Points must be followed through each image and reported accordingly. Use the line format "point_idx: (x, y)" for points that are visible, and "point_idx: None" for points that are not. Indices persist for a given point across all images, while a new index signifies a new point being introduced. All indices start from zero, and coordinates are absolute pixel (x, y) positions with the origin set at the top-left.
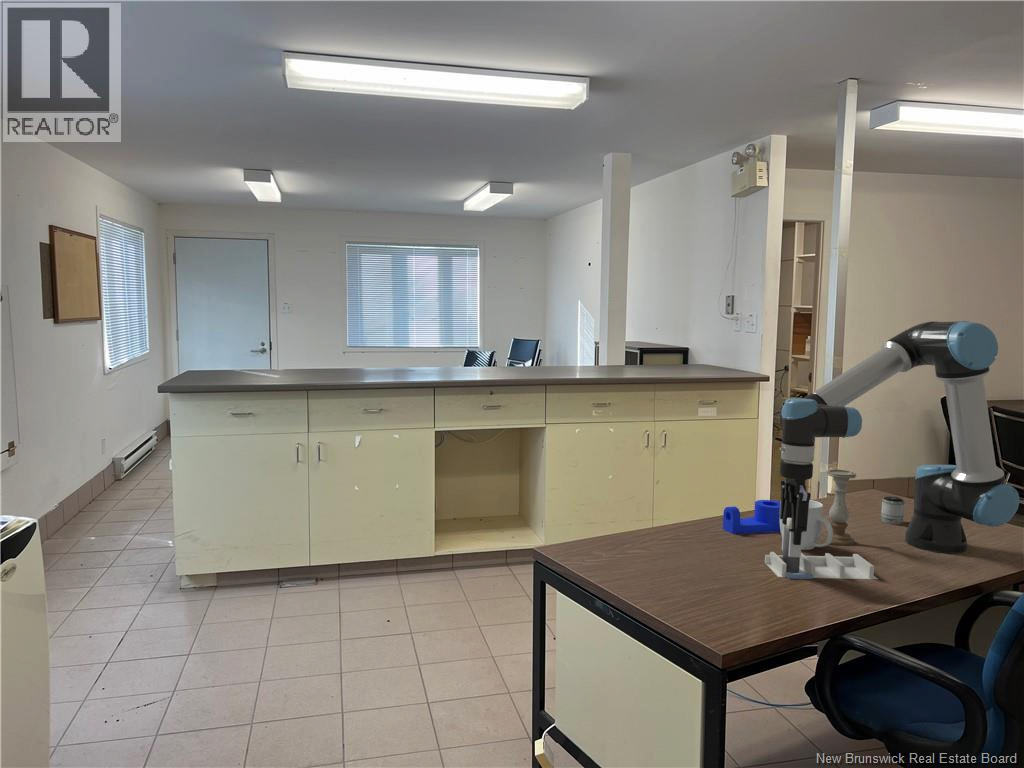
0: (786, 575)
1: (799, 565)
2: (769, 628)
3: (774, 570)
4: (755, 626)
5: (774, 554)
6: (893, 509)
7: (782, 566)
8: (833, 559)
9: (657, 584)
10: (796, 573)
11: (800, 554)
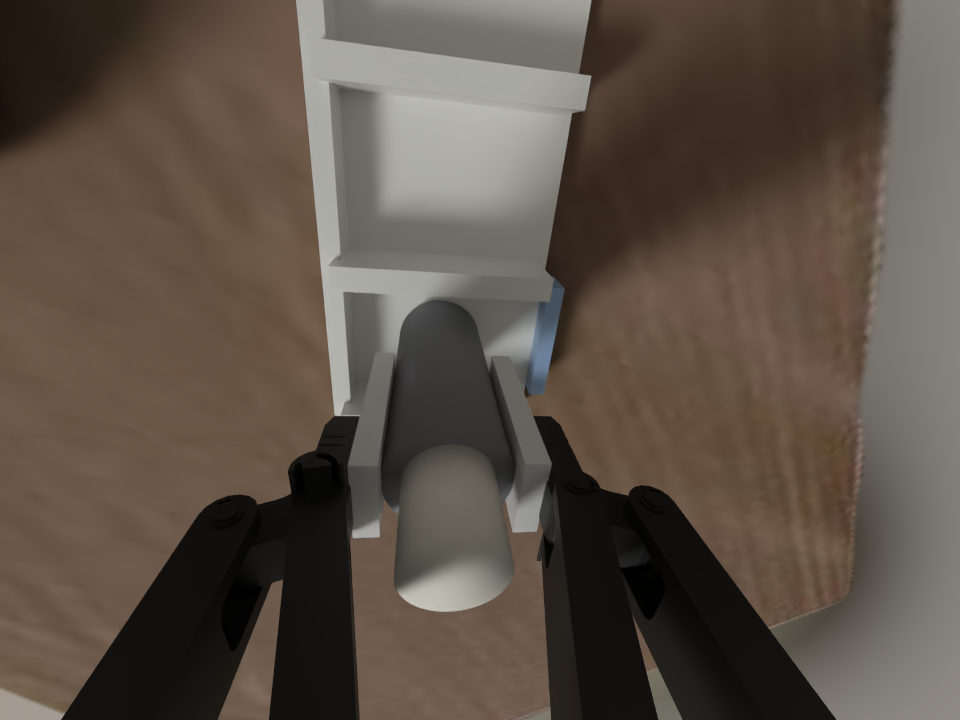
0: None
1: (458, 315)
2: (810, 515)
3: None
4: (787, 536)
5: None
6: None
7: None
8: (461, 91)
9: (515, 658)
10: (538, 357)
11: (511, 365)
